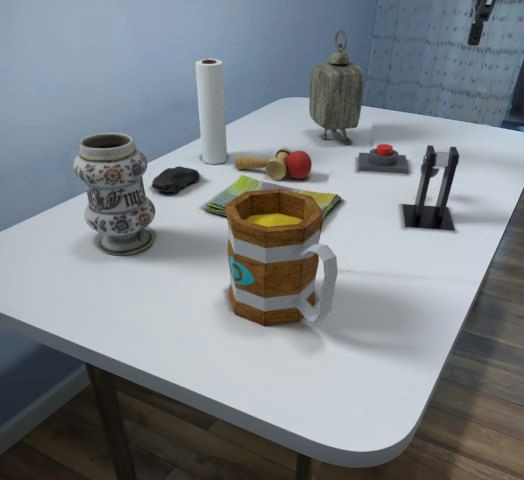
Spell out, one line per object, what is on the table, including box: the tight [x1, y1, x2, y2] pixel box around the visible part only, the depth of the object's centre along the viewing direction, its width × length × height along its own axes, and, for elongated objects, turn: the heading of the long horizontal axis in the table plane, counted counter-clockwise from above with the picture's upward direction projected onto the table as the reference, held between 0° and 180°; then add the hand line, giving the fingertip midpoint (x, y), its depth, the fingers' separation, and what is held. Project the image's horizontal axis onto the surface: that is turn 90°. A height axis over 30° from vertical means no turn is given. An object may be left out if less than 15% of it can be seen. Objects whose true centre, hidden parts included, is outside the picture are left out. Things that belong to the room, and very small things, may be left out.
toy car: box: [151, 165, 201, 194], centre depth 108 cm, size 6×12×4 cm, turn 149°
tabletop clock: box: [308, 28, 365, 145], centre depth 125 cm, size 14×9×25 cm, turn 14°
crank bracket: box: [401, 144, 460, 232], centre depth 92 cm, size 10×9×14 cm
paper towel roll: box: [194, 57, 228, 165], centre depth 114 cm, size 7×6×21 cm
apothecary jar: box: [73, 132, 156, 256], centre depth 84 cm, size 12×12×18 cm
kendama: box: [234, 147, 313, 181], centre depth 113 cm, size 8×6×18 cm
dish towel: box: [202, 174, 342, 222], centre depth 100 cm, size 18×24×3 cm
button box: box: [357, 147, 409, 175], centre depth 116 cm, size 11×9×4 cm
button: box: [376, 143, 394, 156], centre depth 114 cm, size 4×4×2 cm
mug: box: [225, 189, 339, 327], centre depth 70 cm, size 20×14×15 cm
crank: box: [420, 151, 450, 179], centre depth 94 cm, size 13×4×4 cm, turn 171°
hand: (472, 44), depth 103 cm, fingers closed
